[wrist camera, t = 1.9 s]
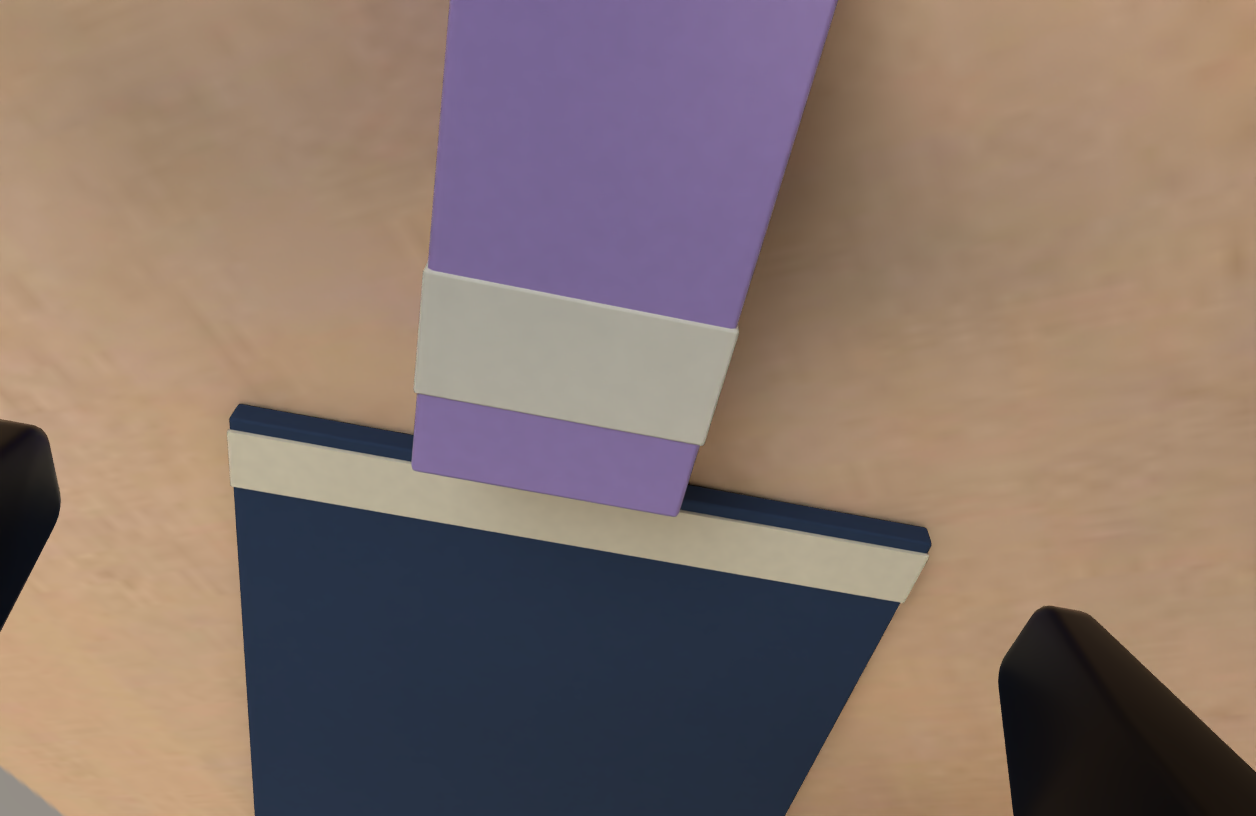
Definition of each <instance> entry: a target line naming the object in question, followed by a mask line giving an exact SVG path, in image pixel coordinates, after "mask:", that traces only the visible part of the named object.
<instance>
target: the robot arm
mask: <svg viewBox="0 0 1256 816" xmlns="http://www.w3.org/2000/svg"><path fill="white" fill-rule="evenodd" d="M60 502H61V498H60V491H59V486H58V482H57V477H56V472H55V467H54V463H53V458H52V453H51V448H50V444H49V440H48V437H47V435H46V434H45V432H44V431H43V430H42V429H41V428H39V427H37V426H35V425H30V424H25V423H19V422H13V421H8V420H2V419H0V632H1V630H2V628H3V626H4V624H5V622H6V620H7V618H8V616H9V614H10V612H11V610H12V608H13V606H14V604H15V602H16V600H17V598H18V596H19V594H20V593H21V591H22V589H23V587H24V585H25V583H26V581H27V579H28V577H29V575H30V573H31V571H32V569H33V567H34V565H35V563H36V561H37V559H38V557H39V555H40V553H41V551H42V550H43V548H44V546H45V544H46V542H47V540H48V538H49V536H50V534H51V532H52V530H53V528H54V526H55V524H56V521H57V518H58V515H59V511H60ZM998 685H999V695H1000V704H1001V712H1002V721H1003V729H1004V738H1005V747H1006V755H1007V764H1008V772H1009V781H1010V789H1011V798H1012V807H1013V815H1014V816H1256V772H1255V771H1254V770H1253V769H1252V768H1251V767H1250V766H1249V765H1248V764H1247V763H1246V762H1245V761H1244V760H1242V759H1241V758H1240V757H1239V756H1238V755H1237V754H1236V753H1235V752H1234V751H1233V750H1232V749H1231V748H1230V747H1229V746H1228V745H1227V744H1226V743H1225V742H1224V741H1222V740H1221V739H1220V738H1219V737H1218V736H1217V735H1216V734H1215V733H1214V732H1213V731H1212V730H1211V729H1210V728H1209V727H1208V726H1207V725H1206V724H1205V723H1204V722H1202V721H1201V720H1200V719H1199V718H1198V717H1197V716H1196V715H1195V714H1194V713H1193V712H1192V711H1191V710H1190V709H1189V708H1188V707H1187V706H1186V705H1185V704H1184V703H1182V702H1181V701H1180V700H1179V699H1178V698H1177V697H1176V696H1175V695H1174V694H1173V693H1172V692H1171V691H1170V690H1169V689H1168V688H1167V687H1166V686H1165V685H1164V684H1163V683H1161V682H1160V681H1159V680H1158V679H1157V678H1156V677H1155V676H1154V675H1153V674H1152V673H1151V672H1150V671H1149V670H1148V669H1147V668H1146V667H1145V666H1144V665H1143V664H1141V663H1140V662H1139V661H1138V660H1137V659H1136V658H1135V657H1134V656H1133V655H1132V654H1131V653H1130V652H1129V651H1128V650H1127V649H1126V648H1125V647H1124V646H1123V645H1121V644H1120V643H1119V642H1118V641H1117V640H1116V639H1115V638H1114V637H1113V636H1112V635H1111V634H1110V633H1109V632H1108V631H1107V630H1106V629H1105V628H1104V627H1103V626H1101V625H1100V624H1099V623H1098V622H1097V621H1096V620H1095V619H1094V618H1093V617H1092V616H1090V615H1089V614H1087V613H1084V612H1082V611H1077V610H1072V609H1066V608H1061V607H1055V606H1043V607H1041V608H1040V609H1038V610H1036V611H1035V612H1034V614H1033V615H1032V616H1031V618H1030V619H1029V621H1028V622H1027V624H1026V625H1025V627H1024V628H1023V630H1022V631H1021V633H1020V634H1019V636H1018V637H1017V639H1016V640H1015V642H1014V643H1013V645H1012V646H1011V648H1010V649H1009V651H1008V652H1007V654H1006V655H1005V657H1004V659H1003V661H1002V663H1001V666H1000V670H999V678H998Z"/></svg>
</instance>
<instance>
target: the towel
mask: <svg viewBox="0 0 1256 816" xmlns="http://www.w3.org/2000/svg"><path fill="white" fill-rule="evenodd" d="M229 422H230V429H228V431H227V439H228V454H229V469H230V484H231V486H232V487H234V499H235V515H236V530H237V546H238V561H239V577H240V592H241V608H242V623H243V638H244V654H245V669H246V685H247V700H248V716H249V731H250V747H251V762H252V778H253V793H254V809H255V816H785V815H786V813H787V811H788V809H789V807H790V805H791V803H792V802H793V800H794V798H795V796H796V794H797V792H798V791H799V789H800V787H801V785H802V783H803V781H804V779H805V778H806V776H807V774H808V772H809V770H810V768H811V767H812V765H813V763H814V761H815V759H816V757H817V756H818V754H819V752H820V750H821V748H822V746H823V744H824V743H825V741H826V739H827V737H828V735H829V733H830V732H831V730H832V728H833V726H834V724H835V722H836V720H837V719H838V717H839V715H840V713H841V711H842V709H843V708H844V706H845V704H846V702H847V700H848V698H849V696H850V695H851V693H852V691H853V689H854V687H855V685H856V684H857V682H858V680H859V678H860V676H861V674H862V673H863V671H864V669H865V667H866V665H867V663H868V661H869V660H870V658H871V656H872V654H873V652H874V650H875V649H876V647H877V645H878V643H879V641H880V639H881V637H882V636H883V634H884V632H885V630H886V628H887V626H888V625H889V623H890V621H891V619H892V617H893V615H894V613H895V612H896V610H897V608H898V606H899V604H900V603H904V602H905V600H906V598H907V596H908V595H909V593H910V591H911V589H912V587H913V585H914V584H915V582H916V580H917V578H918V576H919V574H920V573H921V571H922V569H923V567H924V565H925V563H926V562H927V560H928V558H929V555H928V554H927V553H928V551H929V549H930V547H931V540H930V537H929V534H928V531H927V529H926V528H924V527H919V526H913V525H908V524H902V523H897V522H891V521H886V520H880V519H875V518H869V517H863V516H858V515H852V514H847V513H841V512H836V511H830V510H825V509H819V508H814V507H808V506H803V505H797V504H792V503H786V502H781V501H775V500H769V499H764V498H758V497H753V496H747V495H742V494H736V493H731V492H725V491H720V490H714V489H709V488H703V487H698V486H692V485H687V489H686V492H685V495H684V498H683V502H682V505H681V508H680V511H679V514H678V515H677V516H676V517H670V516H665V515H659V514H653V513H648V512H642V511H636V510H631V509H625V508H620V507H614V506H608V505H603V504H597V503H591V502H586V501H580V500H575V499H569V498H563V497H558V496H552V495H546V494H541V493H535V492H530V491H524V490H518V489H513V488H507V487H501V486H496V485H490V484H485V483H479V482H473V481H468V480H462V479H456V478H451V477H445V476H439V475H434V474H428V473H423V472H417V471H414V470H413V469H412V466H411V461H412V449H413V437H414V435H410V434H404V433H399V432H393V431H388V430H382V429H377V428H371V427H366V426H360V425H355V424H349V423H344V422H338V421H333V420H327V419H321V418H316V417H310V416H305V415H299V414H294V413H288V412H283V411H277V410H272V409H266V408H261V407H255V406H250V405H244V404H239V405H238V406H237V407H236V409H235V410H234V412H233V414H232V415H231V417H230V418H229Z"/></svg>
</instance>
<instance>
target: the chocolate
mask: <svg viewBox="0 0 1256 816" xmlns="http://www.w3.org/2000/svg"><path fill="white" fill-rule="evenodd" d="M837 2H838V0H450V4H449V16H448V28H447V40H446V52H445V64H444V76H443V88H442V101H441V113H440V125H439V137H438V149H437V161H436V173H435V185H434V197H433V209H432V221H431V233H430V245H429V257H428V262H427V264H426V266H425V268H424V271H423V278H422V291H421V303H420V316H419V328H418V341H417V353H416V366H415V378H414V392H415V393H417V401H416V413H415V425H414V437H413V449H412V461H411V466H412V469H413V470H414V471H417V472H423V473H428V474H434V475H439V476H445V477H451V478H456V479H462V480H468V481H473V482H479V483H485V484H490V485H496V486H501V487H507V488H513V489H518V490H524V491H530V492H535V493H541V494H546V495H552V496H558V497H563V498H569V499H575V500H580V501H586V502H591V503H597V504H603V505H608V506H614V507H620V508H625V509H631V510H636V511H642V512H648V513H653V514H659V515H665V516H670V517H676V516H677V515H678V514H679V511H680V508H681V505H682V502H683V498H684V495H685V492H686V489H687V485H688V482H689V479H690V476H691V473H692V469H693V466H694V463H695V460H696V456H697V453H698V450H699V447H700V446H702V445H704V443H705V440H706V437H707V434H708V431H709V428H710V425H711V421H712V418H713V415H714V412H715V409H716V405H717V402H718V399H719V396H720V393H721V389H722V386H723V383H724V380H725V377H726V374H727V370H728V367H729V364H730V361H731V358H732V354H733V351H734V348H735V345H736V342H737V338H738V335H739V327H738V321H739V318H740V315H741V312H742V308H743V305H744V302H745V299H746V296H747V292H748V289H749V286H750V283H751V279H752V276H753V273H754V270H755V267H756V263H757V260H758V257H759V254H760V250H761V247H762V244H763V241H764V238H765V234H766V231H767V228H768V225H769V221H770V218H771V215H772V212H773V209H774V205H775V202H776V199H777V196H778V192H779V189H780V186H781V183H782V180H783V176H784V173H785V170H786V167H787V163H788V160H789V157H790V154H791V151H792V147H793V144H794V141H795V138H796V135H797V131H798V128H799V125H800V122H801V118H802V115H803V112H804V109H805V106H806V102H807V99H808V96H809V93H810V89H811V86H812V83H813V80H814V77H815V73H816V70H817V67H818V64H819V60H820V57H821V54H822V51H823V48H824V44H825V41H826V38H827V35H828V31H829V28H830V25H831V22H832V19H833V15H834V12H835V9H836V6H837Z"/></svg>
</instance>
